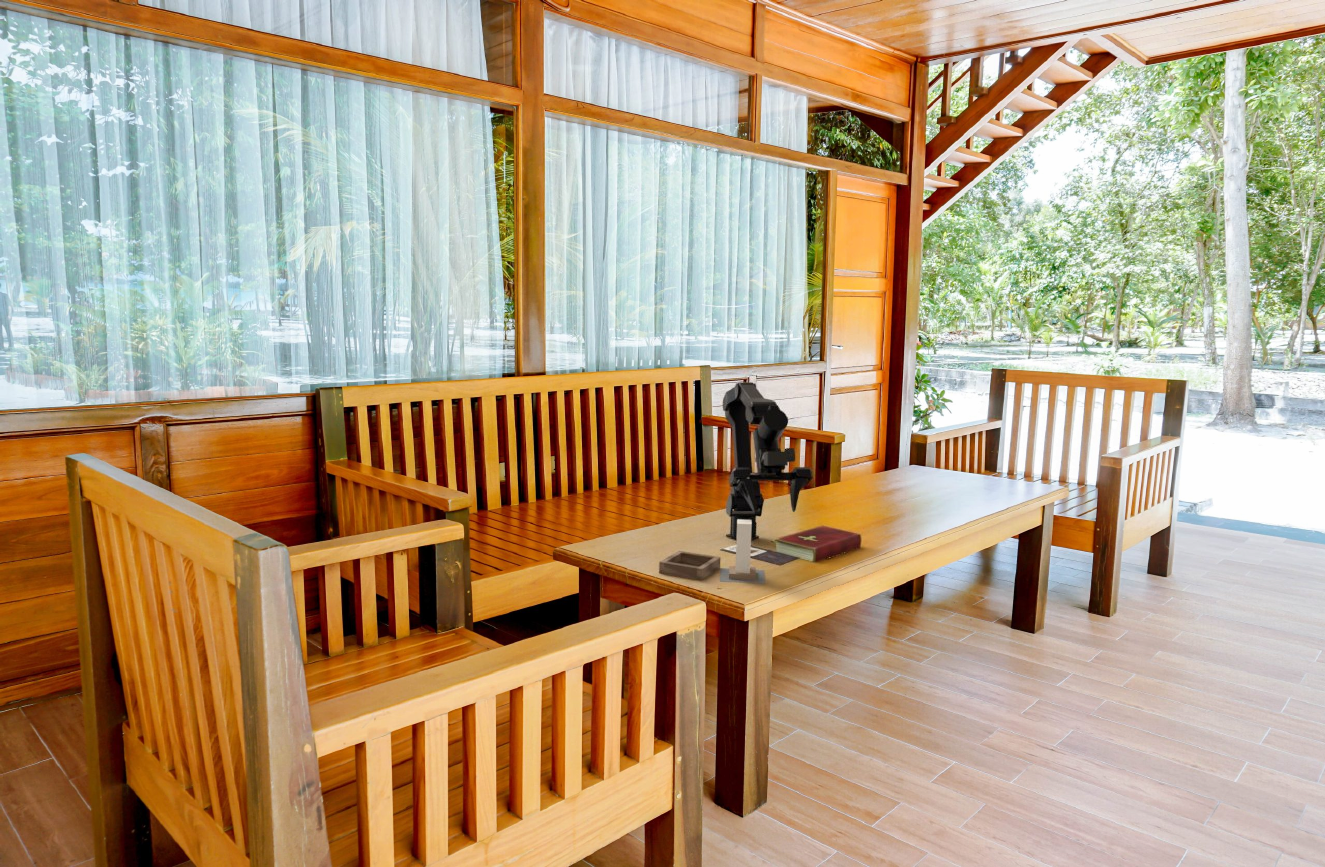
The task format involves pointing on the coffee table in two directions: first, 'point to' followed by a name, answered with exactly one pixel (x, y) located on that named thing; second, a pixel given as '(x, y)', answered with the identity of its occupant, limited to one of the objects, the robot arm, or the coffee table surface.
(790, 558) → the chocolate bar
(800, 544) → the hardcover book
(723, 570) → the mat
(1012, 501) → the coffee table surface
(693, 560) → the brown square tray
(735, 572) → the grey tall square post
